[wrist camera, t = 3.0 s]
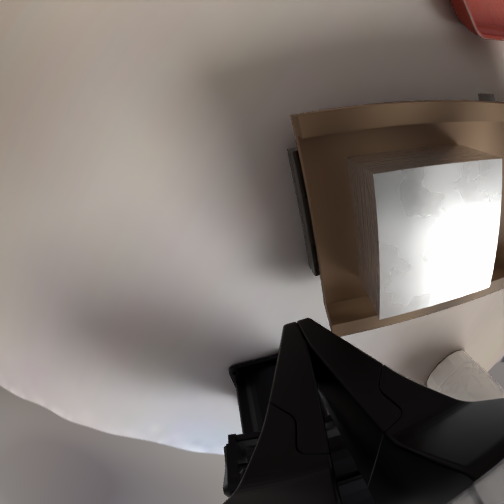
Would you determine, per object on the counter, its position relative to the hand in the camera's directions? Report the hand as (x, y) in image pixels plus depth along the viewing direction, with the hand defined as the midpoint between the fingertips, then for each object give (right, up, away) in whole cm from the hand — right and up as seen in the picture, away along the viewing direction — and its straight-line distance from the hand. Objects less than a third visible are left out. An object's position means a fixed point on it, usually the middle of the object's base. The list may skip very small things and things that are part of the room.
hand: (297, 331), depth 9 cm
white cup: (+23, -12, +20) cm, 33 cm away
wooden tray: (+15, +7, +6) cm, 18 cm away
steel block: (+7, +5, +5) cm, 10 cm away
